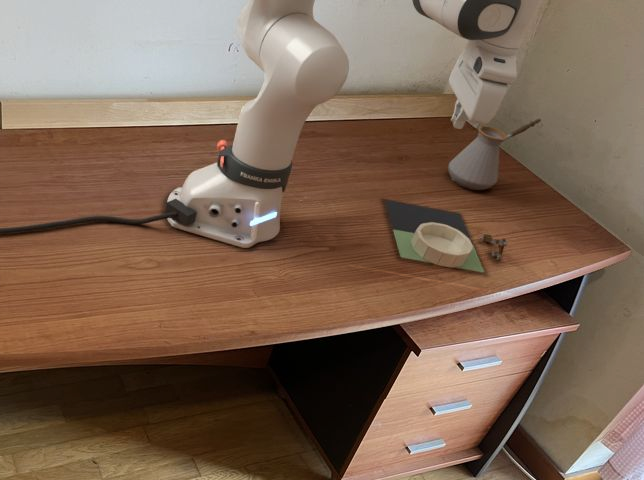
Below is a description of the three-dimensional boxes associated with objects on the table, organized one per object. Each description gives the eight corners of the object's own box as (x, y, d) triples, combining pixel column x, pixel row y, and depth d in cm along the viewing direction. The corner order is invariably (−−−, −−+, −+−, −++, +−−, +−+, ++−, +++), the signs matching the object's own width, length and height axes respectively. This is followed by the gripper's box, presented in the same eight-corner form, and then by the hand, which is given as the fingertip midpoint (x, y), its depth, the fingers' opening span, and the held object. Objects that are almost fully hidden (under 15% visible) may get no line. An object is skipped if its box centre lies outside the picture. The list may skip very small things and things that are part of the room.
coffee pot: (468, 198, 163) (498, 137, 153) (433, 173, 170) (461, 113, 160) (529, 188, 172) (561, 130, 162) (494, 164, 179) (523, 107, 169)
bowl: (416, 261, 138) (423, 248, 136) (407, 230, 147) (412, 218, 145) (471, 271, 139) (478, 259, 137) (458, 240, 147) (465, 228, 145)
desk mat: (399, 258, 139) (400, 257, 139) (383, 200, 155) (384, 199, 155) (483, 274, 140) (484, 272, 140) (459, 215, 156) (459, 213, 156)
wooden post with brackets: (496, 261, 142) (503, 239, 141) (477, 253, 150) (483, 232, 149) (505, 262, 143) (511, 240, 141) (485, 254, 150) (491, 233, 149)
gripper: (459, 33, 140) (430, 101, 149) (485, 71, 124) (451, 145, 134) (490, 40, 140) (459, 107, 149) (520, 79, 125) (483, 151, 134)
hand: (455, 125), depth 141 cm, fingers closed
